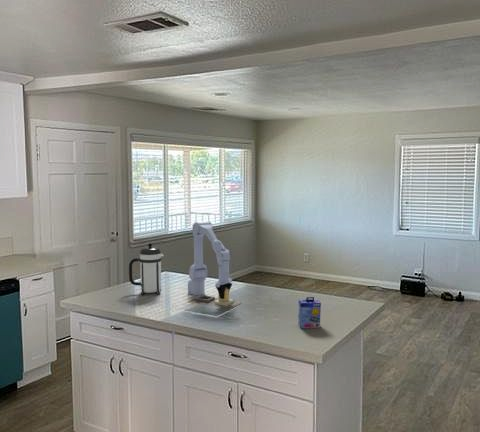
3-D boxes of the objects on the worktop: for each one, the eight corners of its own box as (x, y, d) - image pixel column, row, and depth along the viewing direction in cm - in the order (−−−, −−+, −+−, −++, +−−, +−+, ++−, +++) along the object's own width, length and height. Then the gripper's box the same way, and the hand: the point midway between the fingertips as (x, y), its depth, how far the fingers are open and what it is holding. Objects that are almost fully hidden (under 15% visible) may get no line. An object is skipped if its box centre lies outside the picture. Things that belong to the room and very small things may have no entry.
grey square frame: (195, 301, 265) (195, 298, 265) (203, 297, 271) (203, 295, 271) (207, 302, 261) (207, 300, 261) (214, 299, 268) (214, 296, 268)
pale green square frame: (214, 304, 259) (214, 301, 259) (221, 300, 266) (221, 298, 265) (226, 306, 255) (226, 303, 255) (233, 302, 262) (233, 299, 262)
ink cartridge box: (299, 328, 222) (300, 298, 221) (297, 324, 228) (297, 294, 226) (320, 328, 223) (321, 297, 222) (318, 324, 229) (318, 294, 227)
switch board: (187, 303, 264) (187, 301, 263) (201, 297, 276) (201, 295, 276) (228, 310, 251) (228, 308, 251) (241, 303, 263) (241, 301, 263)
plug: (218, 302, 260) (218, 288, 259) (222, 300, 263) (222, 286, 262) (224, 303, 258) (224, 289, 257) (228, 301, 261) (228, 287, 261)
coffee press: (152, 288, 297) (152, 240, 294) (168, 292, 286) (168, 243, 283) (128, 293, 285) (127, 243, 282) (144, 298, 274) (143, 246, 271)
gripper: (223, 276, 251) (223, 301, 252) (237, 271, 263) (237, 295, 265) (211, 274, 254) (212, 299, 255) (225, 269, 267) (226, 293, 268)
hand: (224, 297), depth 260 cm, fingers closed on plug, 4 cm apart
